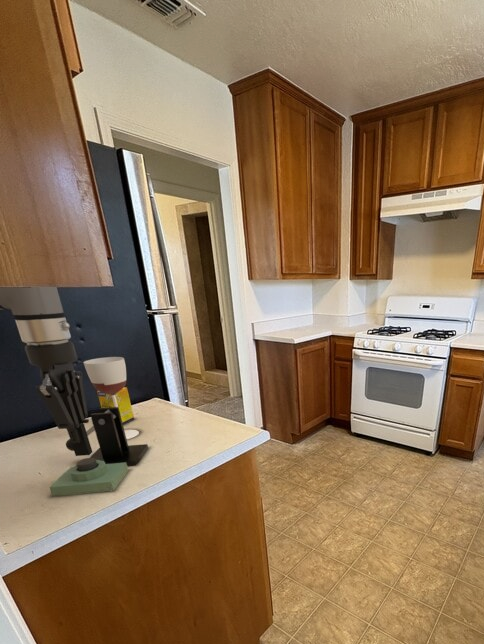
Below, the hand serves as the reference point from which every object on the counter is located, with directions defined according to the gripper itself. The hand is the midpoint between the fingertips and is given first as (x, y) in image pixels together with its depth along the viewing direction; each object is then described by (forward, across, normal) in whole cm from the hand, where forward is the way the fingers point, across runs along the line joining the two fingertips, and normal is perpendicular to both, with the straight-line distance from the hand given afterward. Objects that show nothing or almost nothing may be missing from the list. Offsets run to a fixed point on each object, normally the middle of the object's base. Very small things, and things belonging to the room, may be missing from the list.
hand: (84, 453), depth 76 cm
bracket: (+7, +12, -1) cm, 14 cm away
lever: (+1, +12, +3) cm, 12 cm away
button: (+4, 0, 0) cm, 4 cm away
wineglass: (+7, +28, +3) cm, 29 cm away
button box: (+7, 0, 0) cm, 7 cm away
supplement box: (+7, +40, +8) cm, 41 cm away
